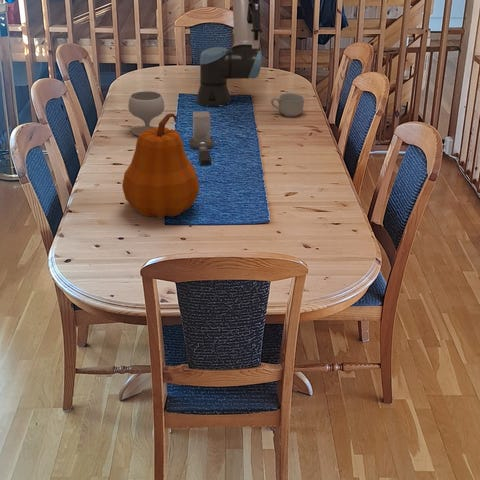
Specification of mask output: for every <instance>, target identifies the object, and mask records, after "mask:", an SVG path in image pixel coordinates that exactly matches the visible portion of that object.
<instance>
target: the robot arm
mask: <svg viewBox="0 0 480 480" xmlns="http://www.w3.org/2000/svg"><path fill="white" fill-rule="evenodd" d="M232 16H233V19H232V21H233V41H234V44H233V45H232V46H231V47H230V50H229V51H228V48H226V47H224V46H216V47H210V48H206V49H205V50H202V52H201V53H200V55H199V56H200V57H199V59H200V60H199V69H200V71H199V77H200V78H199V89H198V92H197V95H196V100H195V101H196V104H198V103H199V104H202V105H208V106H219V105H225V104H228V103H230V104H231V102H230V101H232V99H231V95H230V91H229V89H228V88H229V87H228V85H227V83H228V79H229V80H230V79H231V80H237V79H239V80H240V79H247V80H249V79H257V78H258V77H259V76H260V73H261V66H262V57H263V56H262V55H263V54H262V51H261V50H259V49H260V33H261V30H262V29H261V4H260V3H259V0H232ZM199 104H198V105H199ZM202 105H201V106H202ZM228 105H229V104H228ZM225 106H226V105H225Z"/></svg>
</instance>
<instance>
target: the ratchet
mask: <svg viewBox="0 0 480 480" xmlns="http://www.w3.org/2000/svg"><path fill="white" fill-rule="evenodd" d="M214 139H215V138H214V137H211V136H210V142H201V143H194V138H193V136H192V137H191V138H189V147H190V148H191V149H192V148H193V150H195V149H197V150H196V151H198V158H199V159H200V160H199V164H201V165H200V166H212V158H211V153H210V150H212V149H213V148H214V146H215V142H214V141H215V140H214Z"/></svg>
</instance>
